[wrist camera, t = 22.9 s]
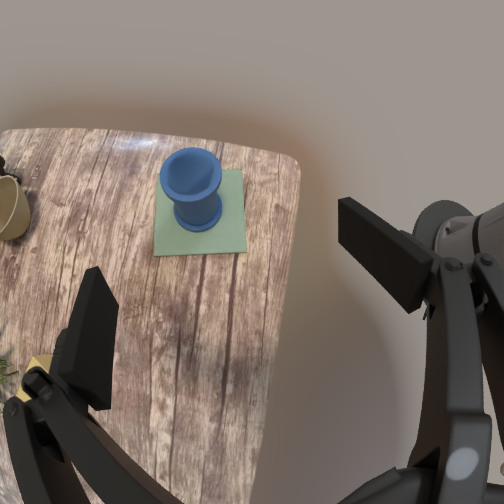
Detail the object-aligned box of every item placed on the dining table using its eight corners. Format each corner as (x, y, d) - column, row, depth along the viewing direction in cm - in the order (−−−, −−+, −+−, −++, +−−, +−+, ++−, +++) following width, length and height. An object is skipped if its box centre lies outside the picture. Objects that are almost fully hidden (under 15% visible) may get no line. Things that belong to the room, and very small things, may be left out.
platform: (52, 353, 31) (32, 355, 27) (91, 391, 31) (74, 398, 26) (34, 390, 29) (15, 396, 25) (71, 427, 29) (54, 437, 24)
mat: (241, 170, 40) (241, 168, 40) (246, 252, 37) (247, 251, 37) (158, 175, 39) (157, 173, 38) (154, 256, 36) (153, 255, 36)
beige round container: (51, 214, 36) (26, 196, 29) (17, 263, 34) (-11, 252, 27) (26, 183, 37) (4, 164, 30) (-5, 227, 34) (-30, 214, 27)
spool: (221, 186, 39) (221, 145, 29) (223, 231, 37) (222, 200, 27) (175, 189, 38) (161, 149, 28) (174, 233, 36) (157, 203, 27)
